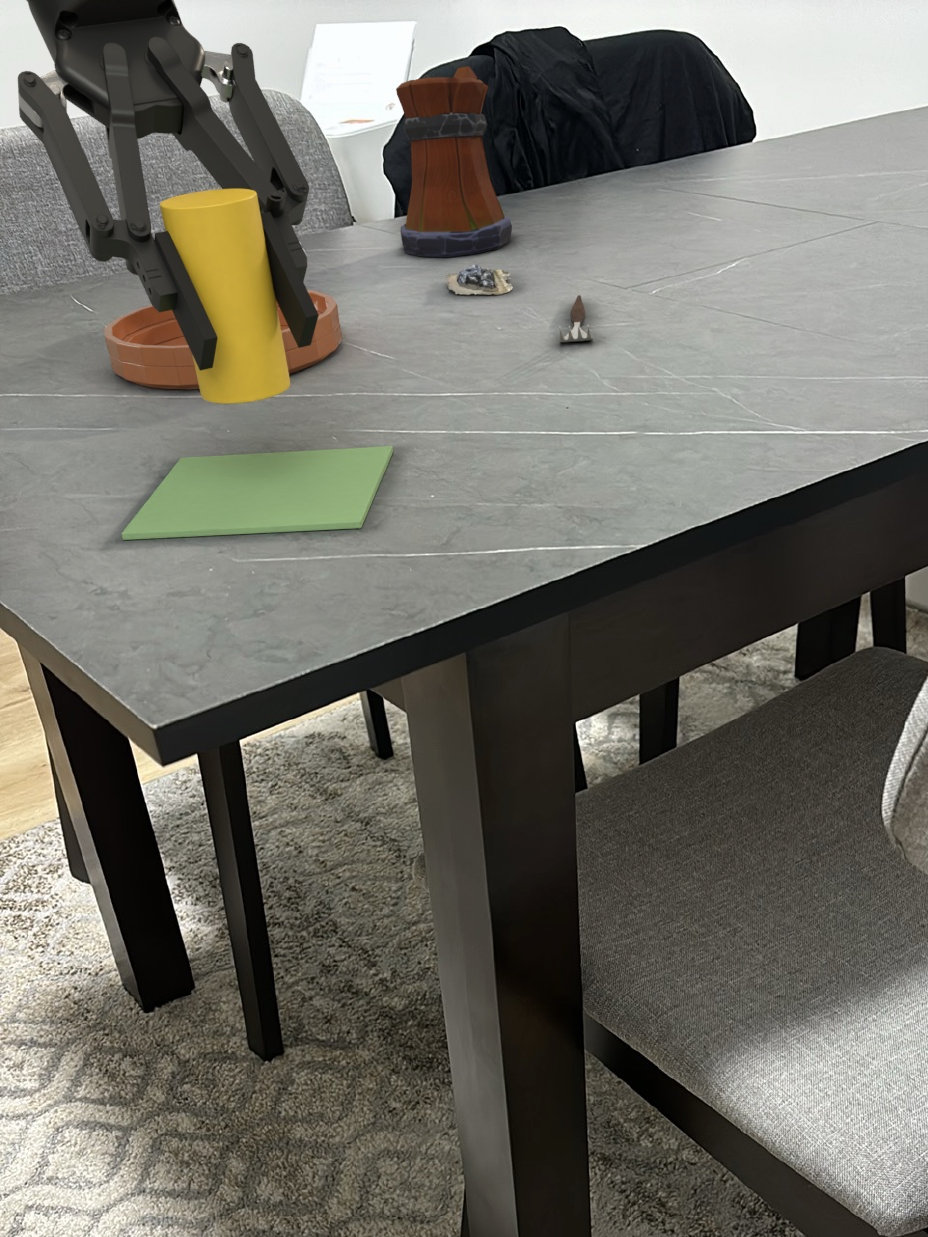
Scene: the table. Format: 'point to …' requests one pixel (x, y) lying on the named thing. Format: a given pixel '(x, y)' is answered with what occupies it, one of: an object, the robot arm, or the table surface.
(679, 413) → the table surface
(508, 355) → the table surface
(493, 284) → the dark rock pile
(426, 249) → the brown rook tower
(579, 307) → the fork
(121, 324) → the pan
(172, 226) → the yellow cylinder
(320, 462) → the green board
